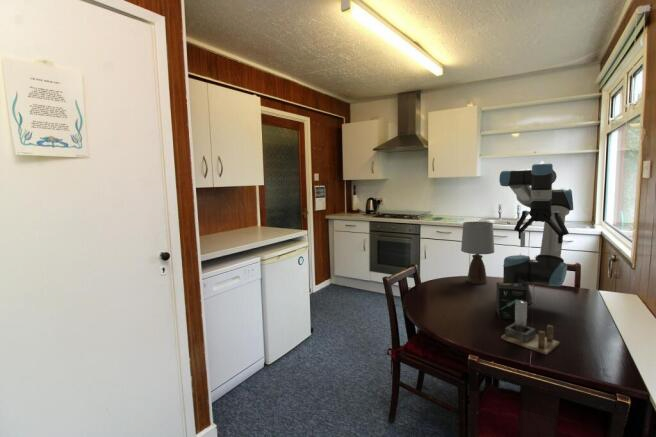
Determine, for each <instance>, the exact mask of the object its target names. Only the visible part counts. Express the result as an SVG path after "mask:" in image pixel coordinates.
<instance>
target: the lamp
mask: <svg viewBox="0 0 656 437" xmlns="http://www.w3.org/2000/svg"><path fill="white" fill-rule="evenodd" d="M494 240H495V238H494V223H493V222H489V221H465V222H464V221H463V223H462V235H461V246H460V247H461V248H460V251H461V252H462V253H466V254H469V255H470V254H472V256H471V257H472V259H471V262H470V264H469V267H468V273H467V279H466V280H467V282H468V283H469V284H472V285H485V284H486V285H487V283H488V279H487V271H486V266H485V264H484V261H483V259H482V258H483V257H484V256H483V255H490V254H494V253H495V241H494Z"/></svg>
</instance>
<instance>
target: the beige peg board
mask: <svg viewBox="0 0 656 437" xmlns="http://www.w3.org/2000/svg"><path fill="white" fill-rule="evenodd" d="M536 332H537V329H536V328H533V327H530V326H527V325H526V333H523V332H520V331H517V330H515V322H513V323H512V324H509V325H508V326H506V327H505V328H504V334H503V335H501V338H500V339H502V340H504V341H506V342H510V343H512V344H516V345H518V346H521V347H524V348H526V349H530V350H532V351H535V352H538V353H540V354H543V355H548V354H549V353H551V352H552V351H553V350H554V349H555V348H556V347H558V346H559V345H560V341H558V340H555V339H554V326H553V325H551V324H547V325H546V332H545V331H543V330H538V333H536Z"/></svg>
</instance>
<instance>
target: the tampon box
mask: <svg viewBox="0 0 656 437" xmlns="http://www.w3.org/2000/svg"><path fill="white" fill-rule="evenodd" d="M516 300H522V301H526V288H525V287H524V286H523V284H516V283H503V282H496V302H495V303H496V307H495V310H496V314H497V316H498V318H499V319H500V320H512V321H515V301H516Z"/></svg>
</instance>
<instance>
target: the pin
mask: <svg viewBox="0 0 656 437" xmlns="http://www.w3.org/2000/svg"><path fill="white" fill-rule="evenodd" d="M527 321H528V304H527V302H526V301H522V300H516V301H515V320H514V323H515V330H517V331H520V332H523V333H526V326H527V324H528V322H527Z"/></svg>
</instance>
